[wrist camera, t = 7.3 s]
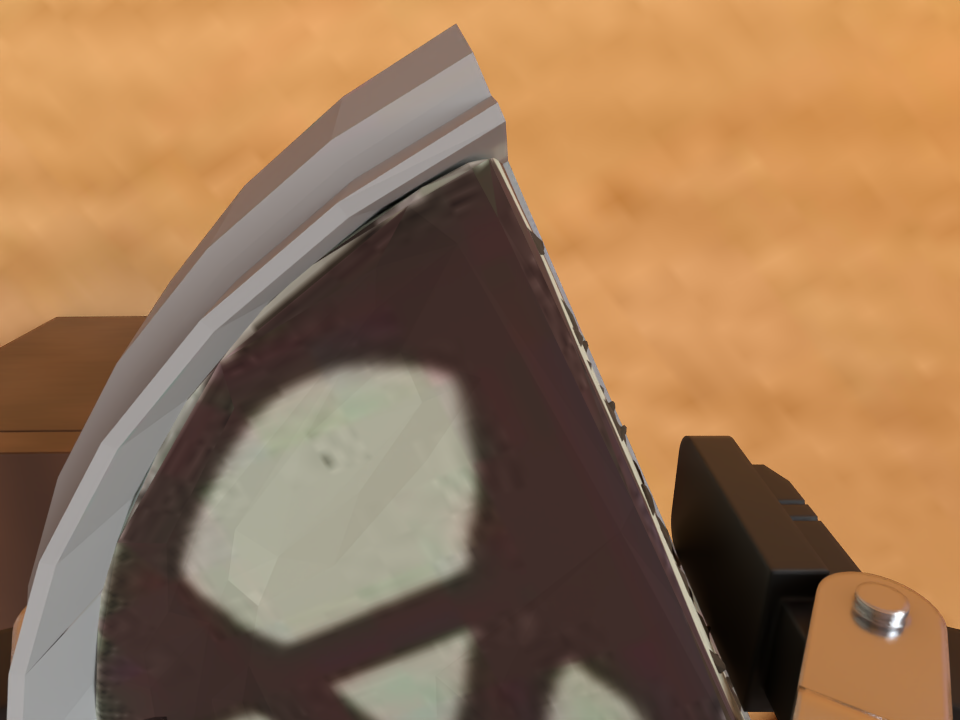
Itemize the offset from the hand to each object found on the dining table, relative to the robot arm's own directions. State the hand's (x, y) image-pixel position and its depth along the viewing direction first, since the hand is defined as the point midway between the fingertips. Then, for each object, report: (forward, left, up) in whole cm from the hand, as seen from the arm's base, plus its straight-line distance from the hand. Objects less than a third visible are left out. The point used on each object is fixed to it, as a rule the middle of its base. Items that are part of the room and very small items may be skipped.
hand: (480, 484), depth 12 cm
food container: (0, 0, -3) cm, 3 cm away
